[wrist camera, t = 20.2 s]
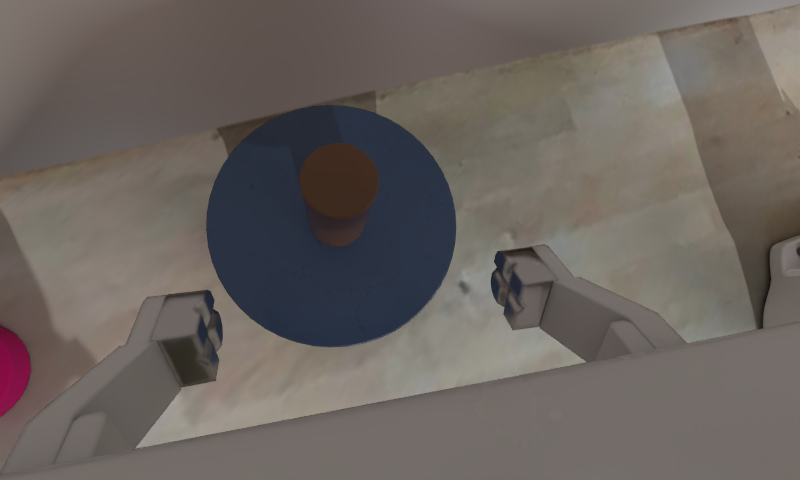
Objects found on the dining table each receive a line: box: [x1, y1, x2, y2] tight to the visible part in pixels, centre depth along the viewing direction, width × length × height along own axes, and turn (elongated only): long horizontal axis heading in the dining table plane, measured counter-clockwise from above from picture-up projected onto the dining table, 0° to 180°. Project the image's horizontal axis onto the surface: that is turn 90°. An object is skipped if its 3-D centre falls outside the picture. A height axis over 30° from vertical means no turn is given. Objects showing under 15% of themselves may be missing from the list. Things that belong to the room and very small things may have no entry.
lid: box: [206, 105, 456, 347], centre depth 19 cm, size 13×13×8 cm
